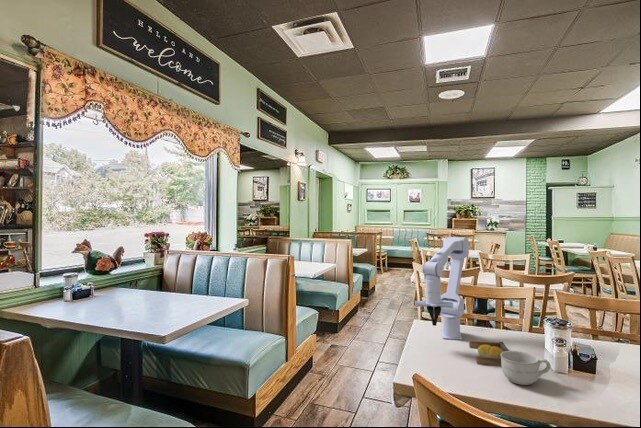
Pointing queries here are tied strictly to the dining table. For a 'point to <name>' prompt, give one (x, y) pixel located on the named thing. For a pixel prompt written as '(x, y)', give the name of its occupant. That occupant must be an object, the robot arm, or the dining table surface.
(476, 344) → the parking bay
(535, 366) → the teacup
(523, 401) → the dining table surface
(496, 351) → the bread roll
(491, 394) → the dining table surface
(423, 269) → the robot arm
